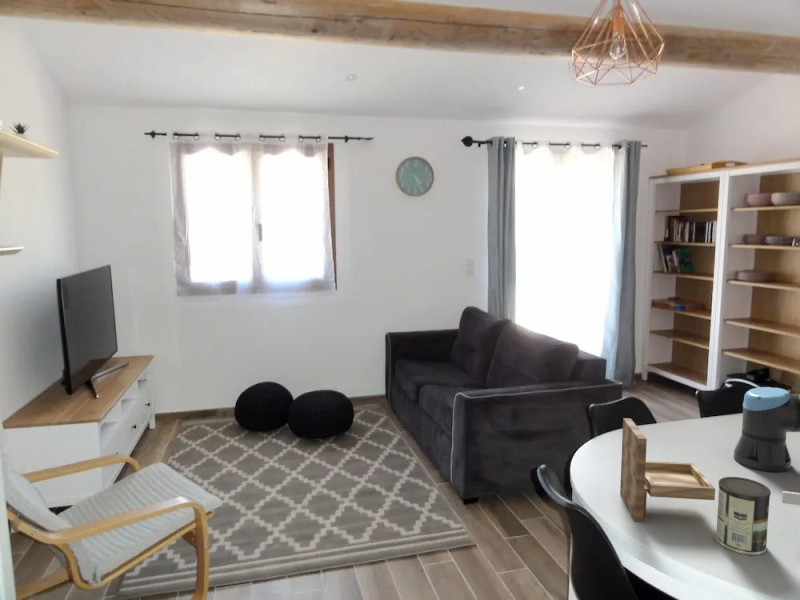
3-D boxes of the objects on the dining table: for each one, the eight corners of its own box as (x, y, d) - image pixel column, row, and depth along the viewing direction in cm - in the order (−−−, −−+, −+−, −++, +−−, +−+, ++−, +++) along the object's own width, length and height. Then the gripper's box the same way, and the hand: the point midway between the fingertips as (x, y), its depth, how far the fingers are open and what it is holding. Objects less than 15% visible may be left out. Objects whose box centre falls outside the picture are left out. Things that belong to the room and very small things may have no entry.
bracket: (712, 526, 136) (718, 441, 133) (634, 521, 139) (638, 438, 136) (690, 497, 151) (695, 420, 148) (620, 493, 154) (623, 418, 151)
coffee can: (755, 533, 133) (759, 477, 131) (774, 557, 123) (779, 498, 121) (708, 529, 135) (712, 474, 133) (724, 552, 125) (728, 494, 123)
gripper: (942, 575, 106) (812, 556, 113) (878, 514, 130) (773, 501, 137) (946, 538, 106) (815, 521, 112) (880, 483, 129) (775, 472, 136)
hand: (792, 510), depth 125 cm, fingers open, 13 cm apart
